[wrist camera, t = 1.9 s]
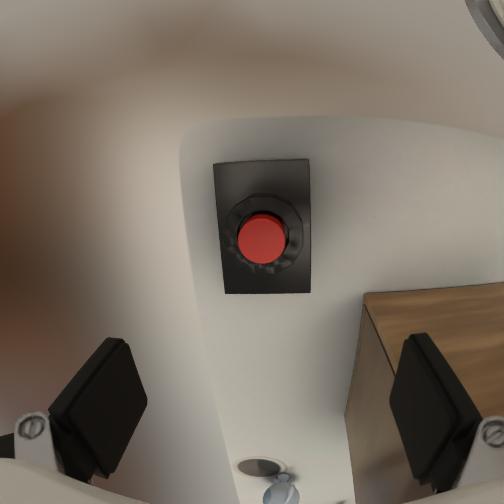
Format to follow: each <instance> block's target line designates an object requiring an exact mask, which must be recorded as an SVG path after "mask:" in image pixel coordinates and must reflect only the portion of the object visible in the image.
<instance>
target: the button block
mask: <svg viewBox="0 0 504 504" xmlns="http://www.w3.org/2000/svg"><path fill="white" fill-rule="evenodd" d="M213 169H214V182H215V194H216V206H217V218H218V229H219V240H220V250H221V260H222V270H223V280H224V289H225V294H283V293H310V291H311V203H310V169H309V159H277V160H256V161H239V162H225V163H216V164H213ZM257 214H268V215H271V216H274V217H275V218H277V219H278V220H279V221H280V222H281V224H282V225H283V227H284V230H285V247H284V250H283V252H282V254H281V255H280V256H279V257H278V258H277V259H276V260H274V261H272V262H269V263H264V264H261V263H255V262H252V261H250V260H249V259H247V258H246V257H245V256H244V255H243V254H242V252H241V250H240V248H239V244H238V236H239V233H240V230H241V229H242V227H243V225H244V223H245V222H246V221H247V220H248V219H249V218H250V217H252V216H254V215H257Z"/></svg>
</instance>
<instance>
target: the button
mask: <svg viewBox="0 0 504 504" xmlns="http://www.w3.org/2000/svg"><path fill="white" fill-rule="evenodd" d="M238 244H239V248H240V250H241V252H242V254H243V255H244V256H245V257H246V258H247V259H249V260H250V261H252V262H255V263H261V264H264V263H269V262H272V261H274V260H276V259H277V258H278V257H279V256H280V255H281V254H282V252H283V250H284V247H285V230H284V227H283V225H282V224H281V222H280V221H279V220H278V219H277V218H275V217H274V216H271V215H268V214H257V215H254V216H252V217H250V218H249V219H248V220H247V221H246V222H245V223H244V225H243V227H242V229H241V230H240V233H239V236H238Z"/></svg>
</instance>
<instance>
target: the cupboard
mask: <svg viewBox="0 0 504 504" xmlns="http://www.w3.org/2000/svg"><path fill="white" fill-rule="evenodd" d="M395 375H396V374H395V372H394V369H393V367H392V365H391V362H390V360H389V357H388V355H387V353H386V350H385V348H384V346H383V343H382V341H381V339H380V336H379V334H378V332H377V329H376V327H375V325H374V323H373V321H372V318H371V316H370V314H369V312H368V310H367V307H366V305H365V304H363V311H362V319H361V326H360V334H359V340H358V347H357V353H356V359H355V365H354V371H353V376H352V382H351V387H350V392H349V397H348V402H347V406H346V411H345V415H344V416H345V423H346V430H347V436H348V443H349V451H350V458H351V466H352V474H353V483H354V492H355V502H356V504H403V503H407V502H411V501H415V500H419V499H422V498H426V497H429V496H432V494H433V492H434V491H435V488H434V485H433V483H430V484H426V485H423V486H420V484H419V481H418V479H416V480H415V479H414V478H413V475H412V472H411V469H410V465H409V462H408V459H407V456H406V453H405V449H404V446H403V443H402V440H401V437H400V434H399V431H398V428H397V425H396V422H395V419H394V417H393V414H392V411H391V408H390V405H389V397H390V393H391V389H392V386H393V382H394V379H395Z"/></svg>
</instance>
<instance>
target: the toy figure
mask: <svg viewBox="0 0 504 504" xmlns="http://www.w3.org/2000/svg"><path fill="white" fill-rule="evenodd" d="M288 480H289V476H288V475H287V474H279V475H278V478H277V479H275V480H274V483H275V484H273V485H272V486H270V487H269V488H268V489H267V490H266V491H265V493H264V496H263V504H298V503H299V498H300V497H299V492H298V490H297V489H296V488H295V485H294V484H290V483H287V481H288Z"/></svg>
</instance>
